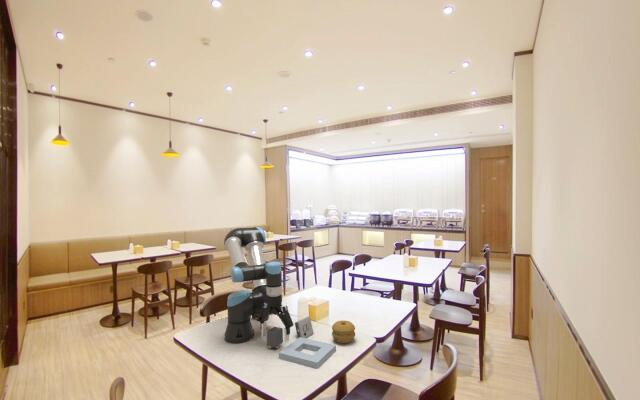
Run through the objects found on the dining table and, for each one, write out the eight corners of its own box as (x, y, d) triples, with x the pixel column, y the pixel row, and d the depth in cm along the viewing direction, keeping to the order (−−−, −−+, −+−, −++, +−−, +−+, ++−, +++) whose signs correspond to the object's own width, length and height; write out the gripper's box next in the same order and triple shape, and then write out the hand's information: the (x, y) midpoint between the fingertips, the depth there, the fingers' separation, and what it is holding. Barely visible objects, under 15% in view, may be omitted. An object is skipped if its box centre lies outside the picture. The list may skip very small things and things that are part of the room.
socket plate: (278, 358, 139) (278, 352, 139) (300, 342, 154) (300, 337, 154) (317, 368, 129) (317, 362, 129) (336, 350, 145) (335, 345, 145)
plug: (267, 348, 148) (266, 330, 148) (274, 343, 153) (274, 326, 153) (275, 350, 146) (275, 332, 146) (282, 345, 151) (282, 328, 151)
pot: (339, 348, 147) (338, 327, 147) (328, 338, 158) (327, 319, 158) (359, 343, 152) (359, 322, 152) (347, 334, 163) (347, 315, 163)
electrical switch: (302, 340, 156) (300, 321, 157) (294, 338, 160) (293, 320, 160) (314, 334, 164) (312, 316, 164) (306, 332, 167) (305, 315, 168)
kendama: (279, 314, 197) (260, 324, 179) (266, 312, 201) (247, 322, 183) (279, 304, 197) (260, 313, 179) (266, 303, 201) (247, 312, 183)
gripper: (249, 293, 153) (250, 337, 152) (291, 299, 141) (292, 346, 140) (259, 290, 159) (260, 331, 158) (299, 295, 147) (301, 340, 146)
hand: (275, 338), depth 149 cm, fingers open, 13 cm apart
